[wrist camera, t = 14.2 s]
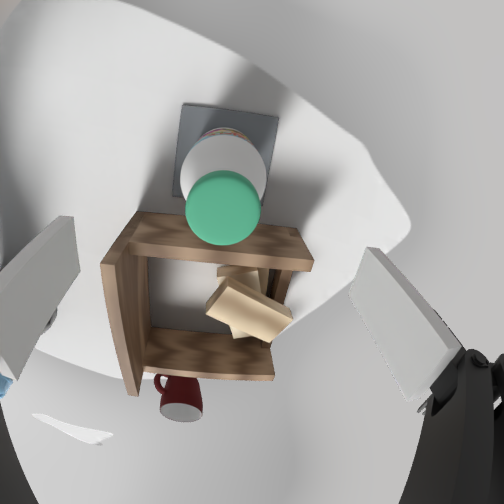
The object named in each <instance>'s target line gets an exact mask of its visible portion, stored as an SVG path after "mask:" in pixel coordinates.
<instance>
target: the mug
mask: <svg viewBox="0 0 504 504" xmlns="http://www.w3.org/2000/svg"><path fill="white" fill-rule="evenodd" d="M161 376H165V377H167V378H168V379H167V382H166V385H165V388H163V387H162V386H161V383H160V377H161ZM154 384H155V387H156V389H157V391H158V392H160V393H161V394H162V396H161V402H160V412H161V414H162V415H163V416H165V417H166V418H168V419H171V420H174V421H178V422H193V421H196V420H199V419H200V418H201V417H202V410H203V404H202V397H201V392H200V386H199V382H198V380H197V378H194V377H183V376H174V375H165V374H156V375H155V377H154Z"/></svg>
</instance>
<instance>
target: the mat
mask: <svg viewBox="0 0 504 504" xmlns="http://www.w3.org/2000/svg"><path fill="white" fill-rule="evenodd" d="M278 121H279V118H278V117H273V116H267V115H261V114H255V113H249V112H242V111H235V110H227V109H218V108H209V107H199V106H186V105H182V110H181V117H180V125H179V133H178V141H177V150H176V160H175V171H174V183H173V196H175V197H184V196H183V193H182V189H181V184H180V176H181V168H182V165H183V162H184V160H185V158H186V156H187V154H188V153H189V151H190V150H191V148H192V147H193V146H194V144H195V143H196V142H197V141H198V140H199V139H200V138H201V137H202V136H203V135H204V134H205V133H207V132H209V131H211V130H213V129H216V128H232V129H235V130H238V131H239V132H241V133H243V134H244V135H245V136H246V137H247V138H248V139H249V140H250V141H251V142H252V144H253V145H254V146H255V148H256V149H257V150H258V152H259V154H260V156H261V158H262V160H263V162H264V165H265V169H266V184H267V179H268V174H269V168H270V163H271V158H272V152H273V147H274V142H275V137H276V131H277V126H278ZM265 190H266V187H265ZM264 195H265V191H264V193H263V196H262V198H261V200H260V204H261V206H262V205H263V200H264Z"/></svg>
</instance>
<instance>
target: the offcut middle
mask: <svg viewBox="0 0 504 504" xmlns="http://www.w3.org/2000/svg"><path fill="white" fill-rule="evenodd" d="M227 276H229V277H231V278H233V279H235V280H237V281H238V282H240V283H242V284H244V285H246V286H248V287H250V288H251V289H253V290H255V291H257V292H259V293H261V288H260V282H259V276H258V270H257V267H249V266H238V265H230V266H224V267H219V268H217V280H218V284H219V286H220V284H221V283H222V282H223V281H224V279H225V278H226V277H227ZM230 328H231V332H232V335H233V339H236V338H242V337H248V336H252V335H250V334H248V333H245V332H243V331H241V330H239V329H236V328H234V327H232V326H230Z"/></svg>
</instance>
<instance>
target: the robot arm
mask: <svg viewBox="0 0 504 504" xmlns="http://www.w3.org/2000/svg"><path fill="white" fill-rule="evenodd" d="M79 273H80V265H79V258H78V252H77V244H76V236H75V227H74V217H72V216H59V217H57V218H56V219H55V220H54V221H53V222H52V223H50V224H49V225H48V226H47V227H46V228H45V229H44V230H42V231H41V232H40V233H39V234H38V235H37V236H36V237H35V238H34V239H33V240H32V241H30V242H29V243H28V244H27V245H26V246H25V247H24V248H23V249H22V250H21V251H20V252H19V253H18V254H17V255H16V256H15V257H14V258H13V259H12V260H11V261H10V262H9V263H8V264H7V265H6V266H5V267H4V268H3V269H1V270H0V399H1V398H3V397H4V396H5V394H6V392H7V390H8V389H9V387H10V385H11V384H12V383H13V380H16V381H18V379H19V377H20V374H21V372H22V370H23V368H24V366H25V364H26V362H27V360H28V358H29V356H30V354H31V352H32V350H33V348H34V346H35V345H36V343H37V341H38V339H39V337H40V336H41V335H42V334H43V333H44V332H46V331H47V330H48V329H49V328H50V327H51V325H52V324H53V322H54V320H55V318H56V314H57V309H56V308H57V306H58V305H59V303H60V302H61V300H62V298H63V297H64V295H65V294H66V292H67V291H68V289H69V288H70V286H71V284H72V283H73V281H74V280H75V279H76V277H77V276H78V274H79ZM348 296H349V298H350V299H351V301H352V303H353V304H354V306H355V308H356V309H357V311H358V313H359V315H360V317H361V318H362V320H363V322H364V324H365V325H366V327H367V329H368V331H369V332H370V334H371V336H372V338H373V340H374V341H375V343H376V345H377V347H378V349H379V350H380V352H381V354H382V356H383V358H384V360H385V362H386V363H387V365H388V367H389V369H390V371H391V373H392V375H393V377H394V379H395V380H396V383H397V385H398V387H399V389H400V391H401V392H402V394H403V397H404V399H405V401H406V402H408V401H412V400H416V399H419V398H421V397H422V396H423V395H424V394H425V392H426V391H427V390H428V389H429V388H430V389H431V391H432V394H431V396H430V397H429V398H428V399H427V400H426V401H425V402H424V403H423V404H422V405H421V406H420V407H419V409H418V411H417V412H418V413H419V412H420V411H421V410H422V409H423V408H424V407H425V408H426V411H424V412H423V415H425V417H424V421H423V426H422V430H421V435H420V439H419V443H418V446H417V450H416V454H415V457H414V461H413V464H412V467H411V471H410V474H409V477H408V480H407V482H406V486H405V488H404V491H403V494H402V496H401V499H400V501H399V504H504V354H501V355H500V356H499V358H498V359H497V360H496V361H495V363H489V361H488V360H487V359H486V357H485V356H484V355H483V354H482V353H480V352H479V351H477V350H474V349H469V350H467V351H466V350H465V348H464V347H463V346H462V344H461V343H460V342H459V340H458V339H457V338H456V336H455V335H454V334H453V332H452V331H451V330H450V328H448V327H447V325H446V323H445V322H444V321H442V318H441V317H440V316H439V315H438V313H437V312H436V311H435V310H434V309H433V308H432V307H431V306H430V305H429V304H428V303H427V301H426V300H425V299H424V298H423V297H422V295H421V294H420V293H419V292H418V291H417V290H416V288H415V287H414V286H413V285H412V284H411V283H410V282H409V281H408V279H407V278H406V277H405V276H404V275H403V274H402V273H401V271H400V270H399V269H398V268H397V267H396V266H395V265H394V264H393V263H392V262H391V261H390V260H389V258H388V257H387V256H386V255H385V254H384V253H383V252H382V251H381V250H380V249H379V248H372V247H366V249H365V252H364V255H363V257H362V260H361V263H360V265H359V268H358V271H357V273H356V276H355V278H354V281H353V284H352V286H351V289H350V291H349V293H348ZM500 396H501V399H502V402H501V403H500V404H499V405H498V406H497V407H496V408H495V410H494V407H493V403H494V402H495V401H496V400H497V399H498V398H499V397H500ZM0 504H39V503H38V502H37V500H36V498H35V496H34V494H33V492H32V490H31V488H30V486H29V483H28V481H27V479H26V477H25V475H24V472H23V470H22V468H21V465H20V463H19V460H18V458H17V455H16V452H15V450H14V447H13V444H12V442H11V438H10V436H9V432H8V429H7V426H6V422H5V419H4V415H3V411H2V407H1V404H0Z"/></svg>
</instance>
